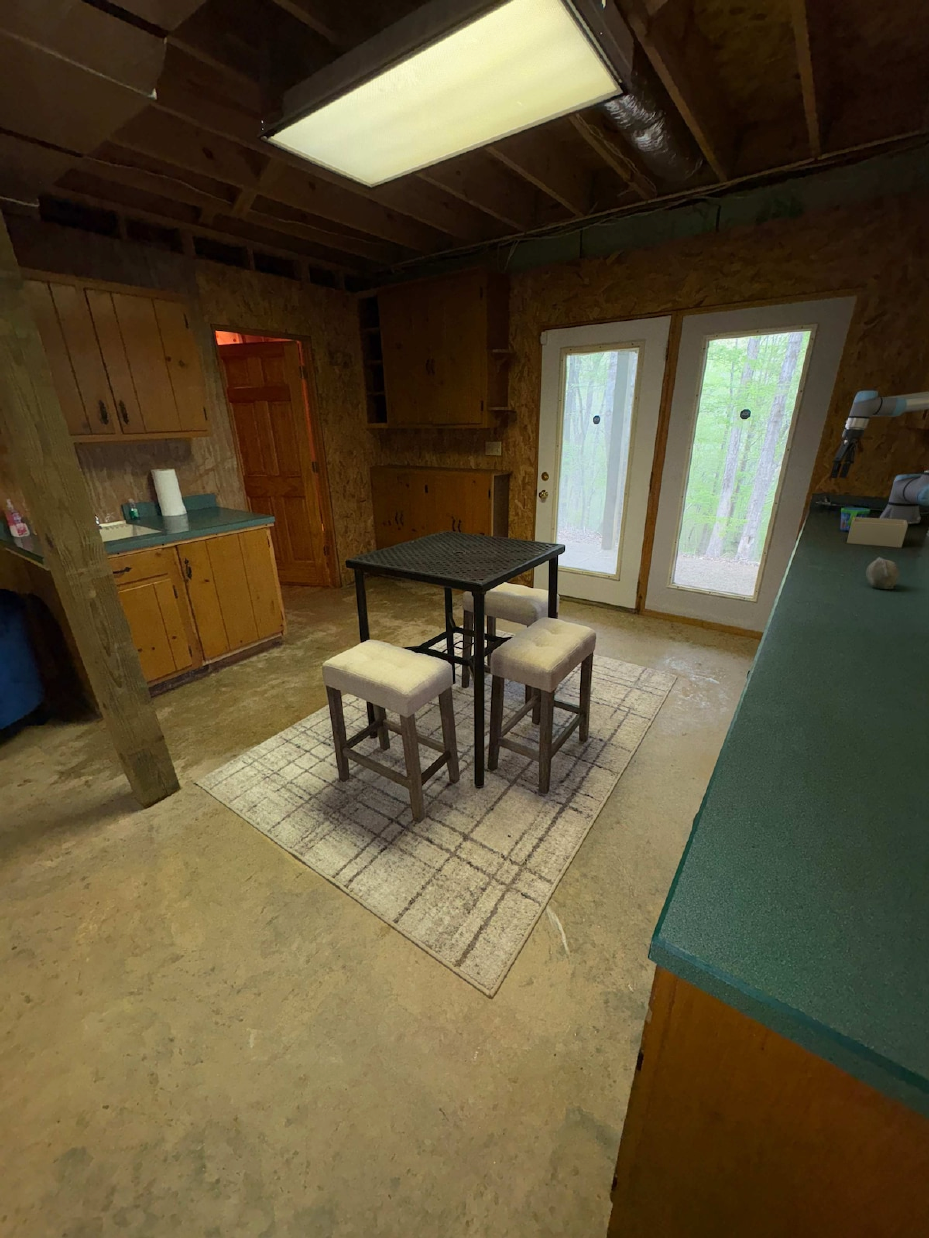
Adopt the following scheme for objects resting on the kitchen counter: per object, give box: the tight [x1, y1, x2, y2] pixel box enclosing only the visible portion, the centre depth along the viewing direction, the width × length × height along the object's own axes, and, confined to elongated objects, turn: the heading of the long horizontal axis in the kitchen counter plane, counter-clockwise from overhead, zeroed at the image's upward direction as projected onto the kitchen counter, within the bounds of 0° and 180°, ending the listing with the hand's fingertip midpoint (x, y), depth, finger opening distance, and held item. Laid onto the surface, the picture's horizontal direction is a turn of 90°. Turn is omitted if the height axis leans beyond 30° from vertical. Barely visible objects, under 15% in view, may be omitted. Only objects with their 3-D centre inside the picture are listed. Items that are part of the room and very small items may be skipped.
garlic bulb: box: [865, 557, 900, 590], centre depth 150 cm, size 9×8×10 cm
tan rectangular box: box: [846, 517, 909, 548], centre depth 202 cm, size 13×18×9 cm
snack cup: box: [840, 507, 871, 533], centre depth 224 cm, size 16×10×10 cm
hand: (837, 478), depth 223 cm, fingers open, 13 cm apart
